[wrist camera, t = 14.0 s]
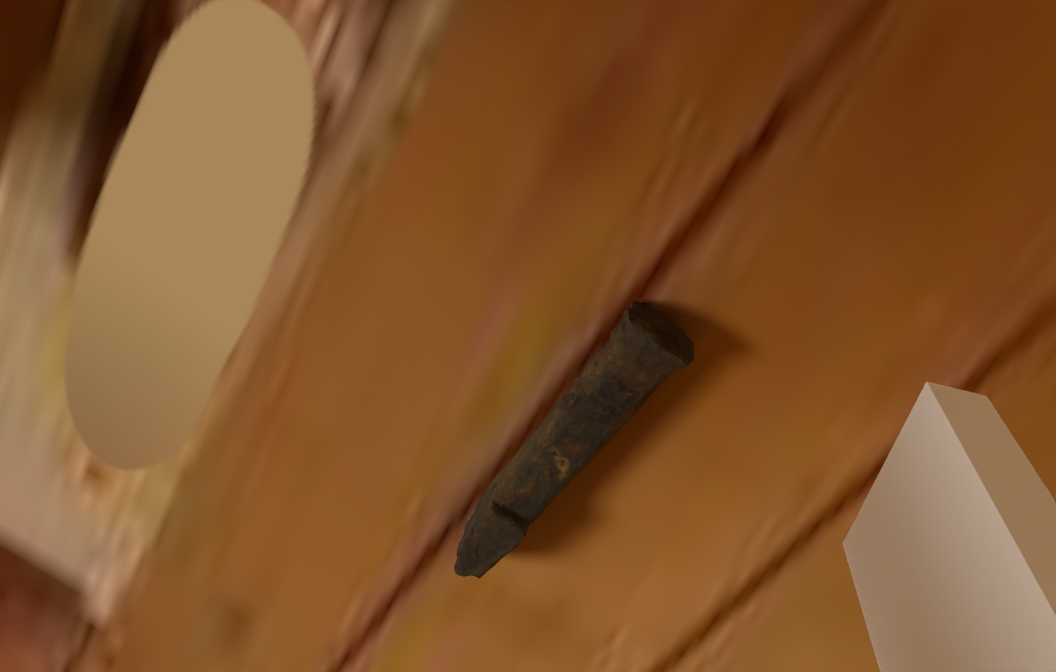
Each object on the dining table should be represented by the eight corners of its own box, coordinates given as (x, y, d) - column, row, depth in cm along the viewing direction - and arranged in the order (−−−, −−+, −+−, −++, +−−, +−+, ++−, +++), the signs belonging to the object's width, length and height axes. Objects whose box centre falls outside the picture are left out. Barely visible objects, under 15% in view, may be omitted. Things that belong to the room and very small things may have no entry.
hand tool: (636, 284, 43) (630, 323, 39) (698, 333, 43) (699, 376, 39) (430, 511, 51) (407, 563, 47) (484, 549, 52) (466, 604, 47)
